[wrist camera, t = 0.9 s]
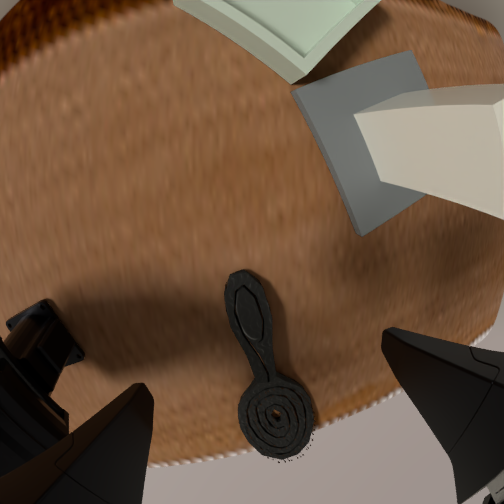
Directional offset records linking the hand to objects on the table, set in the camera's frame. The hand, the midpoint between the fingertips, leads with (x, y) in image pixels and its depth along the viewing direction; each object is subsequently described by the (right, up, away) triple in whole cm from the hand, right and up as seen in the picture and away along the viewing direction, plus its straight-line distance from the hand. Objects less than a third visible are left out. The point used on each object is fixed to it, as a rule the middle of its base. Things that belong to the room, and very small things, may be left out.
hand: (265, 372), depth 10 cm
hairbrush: (+1, -8, +17) cm, 19 cm away
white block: (+10, +13, +10) cm, 19 cm away
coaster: (+10, +13, +10) cm, 20 cm away
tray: (+1, +23, +5) cm, 23 cm away
